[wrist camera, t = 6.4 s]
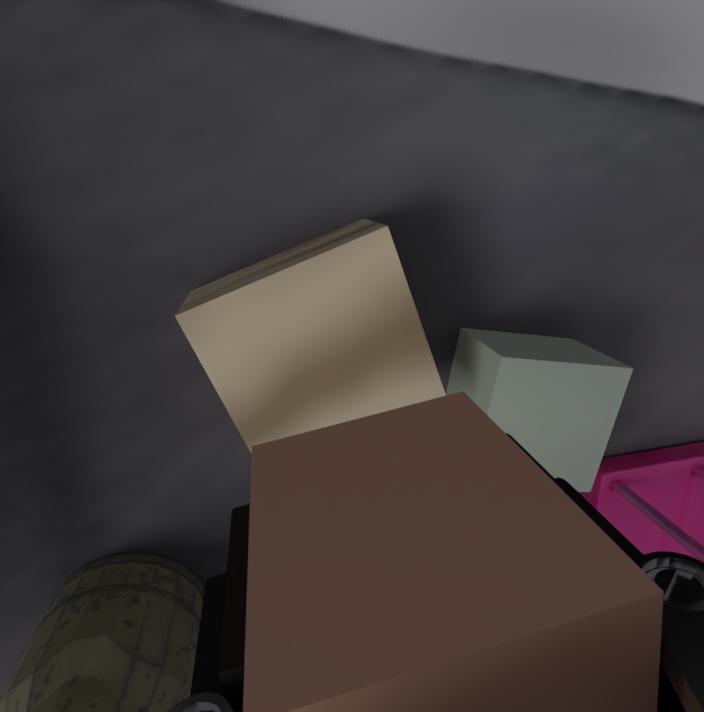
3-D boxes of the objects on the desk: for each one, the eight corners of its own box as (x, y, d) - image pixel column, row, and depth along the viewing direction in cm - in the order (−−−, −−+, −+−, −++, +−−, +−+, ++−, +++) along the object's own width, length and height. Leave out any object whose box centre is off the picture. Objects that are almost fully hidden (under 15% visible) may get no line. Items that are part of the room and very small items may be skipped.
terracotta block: (251, 446, 11) (242, 726, 5) (462, 390, 11) (664, 591, 6) (302, 609, 12) (336, 949, 7) (482, 555, 13) (649, 831, 7)
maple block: (191, 289, 23) (174, 316, 19) (362, 218, 24) (387, 225, 19) (269, 437, 27) (272, 491, 22) (418, 372, 27) (451, 411, 22)
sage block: (459, 326, 26) (502, 357, 22) (571, 338, 28) (633, 368, 23) (434, 440, 28) (468, 489, 24) (539, 444, 30) (590, 492, 25)
